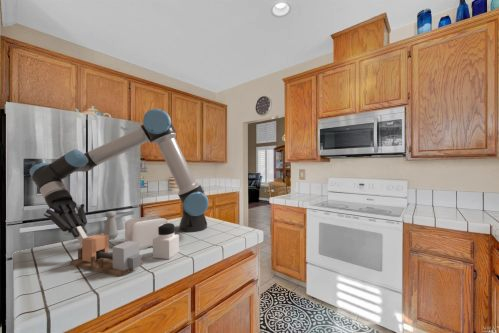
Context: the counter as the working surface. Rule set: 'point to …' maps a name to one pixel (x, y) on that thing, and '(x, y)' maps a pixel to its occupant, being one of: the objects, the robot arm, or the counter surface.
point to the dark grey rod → (104, 255)
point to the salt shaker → (111, 225)
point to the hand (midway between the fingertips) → (85, 242)
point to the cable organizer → (143, 230)
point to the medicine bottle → (165, 242)
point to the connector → (126, 255)
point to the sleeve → (94, 246)
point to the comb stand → (99, 265)
